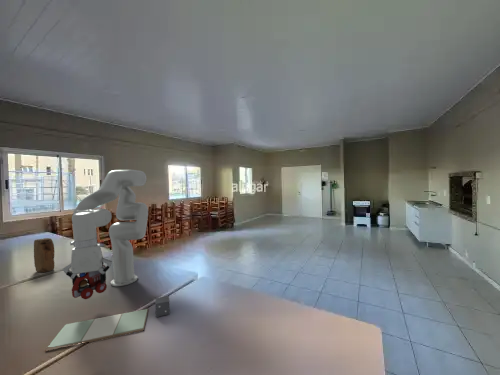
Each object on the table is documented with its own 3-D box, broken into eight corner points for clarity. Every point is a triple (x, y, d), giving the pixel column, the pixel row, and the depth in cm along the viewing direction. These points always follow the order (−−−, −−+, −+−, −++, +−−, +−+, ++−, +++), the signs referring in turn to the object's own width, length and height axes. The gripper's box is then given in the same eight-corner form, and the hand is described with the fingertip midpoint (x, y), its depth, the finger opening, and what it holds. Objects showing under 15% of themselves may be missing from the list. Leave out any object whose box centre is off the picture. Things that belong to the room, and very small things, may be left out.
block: (33, 271, 144) (31, 239, 144) (48, 267, 151) (46, 236, 151) (42, 273, 140) (40, 240, 139) (57, 269, 147) (55, 238, 146)
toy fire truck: (69, 299, 91) (66, 273, 91) (102, 285, 102) (100, 262, 101) (77, 304, 88) (74, 277, 87) (111, 289, 98) (108, 265, 97)
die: (155, 298, 92) (169, 295, 94) (155, 311, 92) (169, 308, 94) (155, 304, 88) (169, 301, 90) (155, 317, 88) (170, 314, 89)
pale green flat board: (65, 325, 85) (65, 323, 85) (148, 310, 93) (148, 308, 93) (45, 352, 72) (44, 349, 72) (143, 330, 80) (143, 328, 80)
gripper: (55, 249, 87) (60, 293, 88) (108, 242, 92) (111, 284, 93) (64, 243, 94) (68, 284, 95) (113, 237, 99) (116, 276, 101)
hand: (90, 284), depth 94 cm, fingers closed on toy fire truck, 8 cm apart
